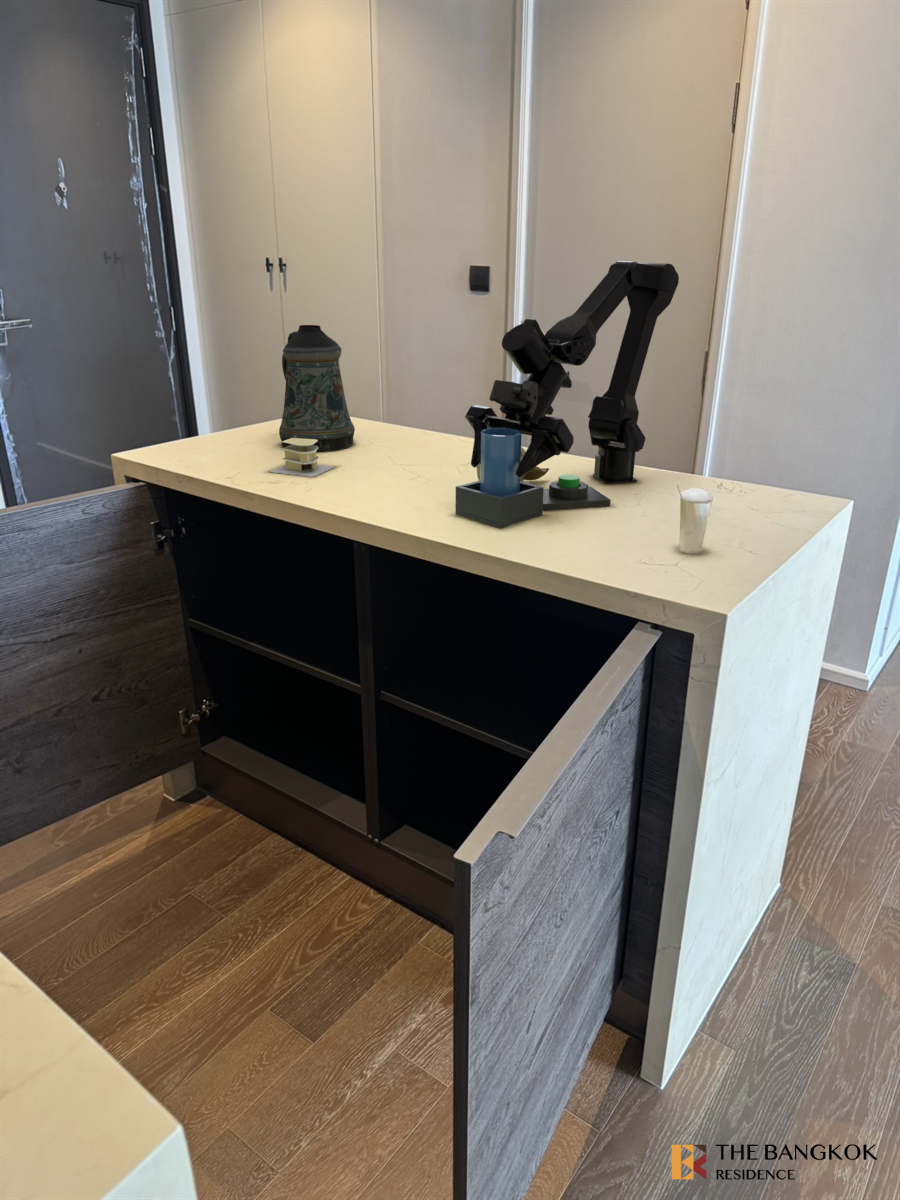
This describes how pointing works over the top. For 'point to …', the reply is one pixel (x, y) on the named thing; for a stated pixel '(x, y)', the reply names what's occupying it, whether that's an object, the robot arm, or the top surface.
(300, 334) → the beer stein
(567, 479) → the button
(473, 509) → the open square box
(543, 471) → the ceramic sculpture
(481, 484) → the cup
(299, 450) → the stacked layers on plate
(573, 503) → the panel
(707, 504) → the milkshake
